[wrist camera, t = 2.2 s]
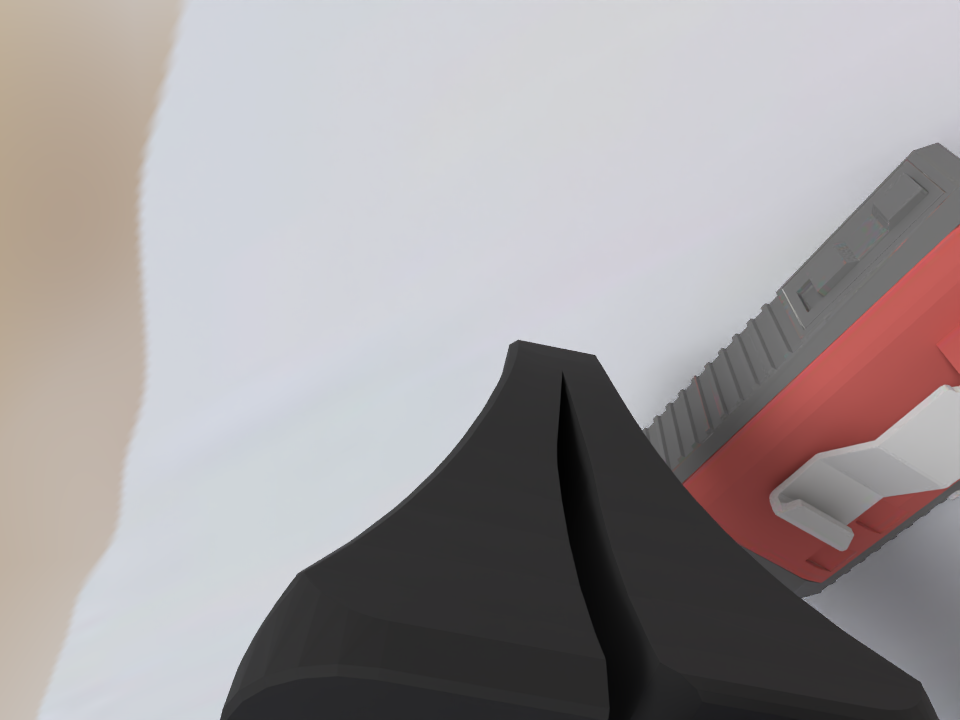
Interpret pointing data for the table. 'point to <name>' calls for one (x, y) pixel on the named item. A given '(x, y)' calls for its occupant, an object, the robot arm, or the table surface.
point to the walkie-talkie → (837, 390)
